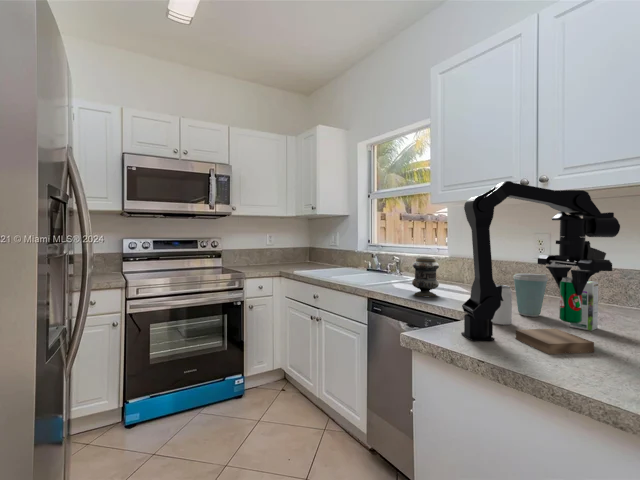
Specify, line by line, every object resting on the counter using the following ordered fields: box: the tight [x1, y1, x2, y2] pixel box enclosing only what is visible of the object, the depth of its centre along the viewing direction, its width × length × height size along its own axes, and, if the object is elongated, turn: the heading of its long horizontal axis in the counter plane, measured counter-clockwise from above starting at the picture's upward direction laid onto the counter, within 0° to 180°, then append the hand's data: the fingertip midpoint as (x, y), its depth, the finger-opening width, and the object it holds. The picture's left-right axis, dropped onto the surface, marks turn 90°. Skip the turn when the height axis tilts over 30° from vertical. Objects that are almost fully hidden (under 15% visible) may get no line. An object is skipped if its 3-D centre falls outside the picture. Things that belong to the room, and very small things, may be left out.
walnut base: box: [515, 328, 595, 355], centre depth 89 cm, size 12×12×2 cm
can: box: [491, 284, 513, 326], centre depth 111 cm, size 6×6×12 cm
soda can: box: [558, 276, 583, 324], centre depth 94 cm, size 5×5×12 cm
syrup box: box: [569, 280, 599, 332], centre depth 105 cm, size 6×6×14 cm
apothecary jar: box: [411, 255, 440, 298], centre depth 159 cm, size 12×12×18 cm
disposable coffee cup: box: [513, 273, 549, 318], centre depth 122 cm, size 11×11×15 cm
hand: (570, 293), depth 94 cm, fingers closed on soda can, 5 cm apart
